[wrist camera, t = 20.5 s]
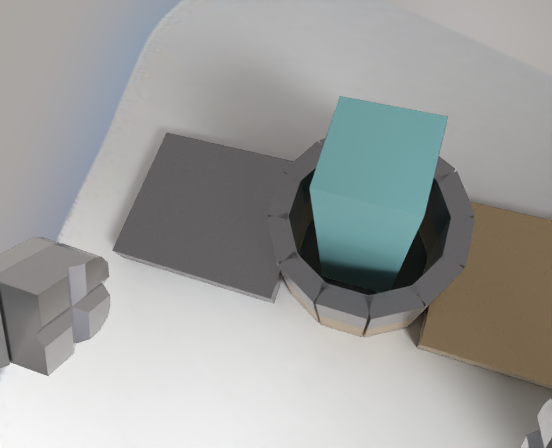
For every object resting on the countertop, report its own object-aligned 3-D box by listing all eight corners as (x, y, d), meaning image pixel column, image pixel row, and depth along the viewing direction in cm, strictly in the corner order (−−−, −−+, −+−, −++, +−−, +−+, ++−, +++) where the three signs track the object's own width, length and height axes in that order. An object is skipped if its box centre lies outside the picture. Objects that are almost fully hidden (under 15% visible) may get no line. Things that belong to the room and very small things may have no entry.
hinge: (642, 246, 29) (729, 202, 22) (629, 420, 25) (728, 428, 19) (175, 138, 37) (139, 82, 30) (119, 261, 33) (66, 228, 27)
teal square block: (403, 233, 31) (447, 116, 18) (387, 295, 30) (424, 215, 17) (340, 217, 32) (339, 96, 19) (322, 276, 31) (309, 188, 18)
